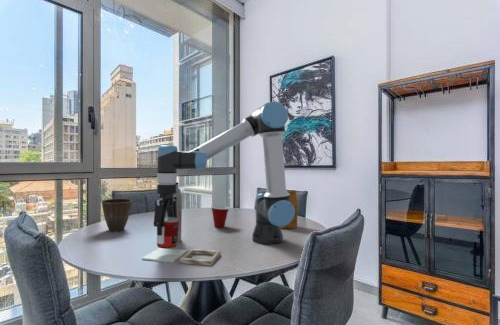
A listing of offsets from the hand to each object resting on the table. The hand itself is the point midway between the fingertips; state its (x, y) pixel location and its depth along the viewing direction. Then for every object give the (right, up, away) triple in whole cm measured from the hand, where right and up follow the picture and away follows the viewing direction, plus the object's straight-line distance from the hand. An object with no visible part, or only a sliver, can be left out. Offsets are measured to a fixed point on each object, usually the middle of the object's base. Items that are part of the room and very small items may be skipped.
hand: (165, 240), depth 114 cm
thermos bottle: (-3, -6, +21) cm, 22 cm away
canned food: (+1, -2, 0) cm, 3 cm away
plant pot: (-39, -6, +40) cm, 56 cm away
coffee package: (+55, -7, +53) cm, 77 cm away
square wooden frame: (+15, -6, -3) cm, 16 cm away
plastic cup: (+16, -7, +52) cm, 55 cm away
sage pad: (0, -6, 0) cm, 6 cm away
